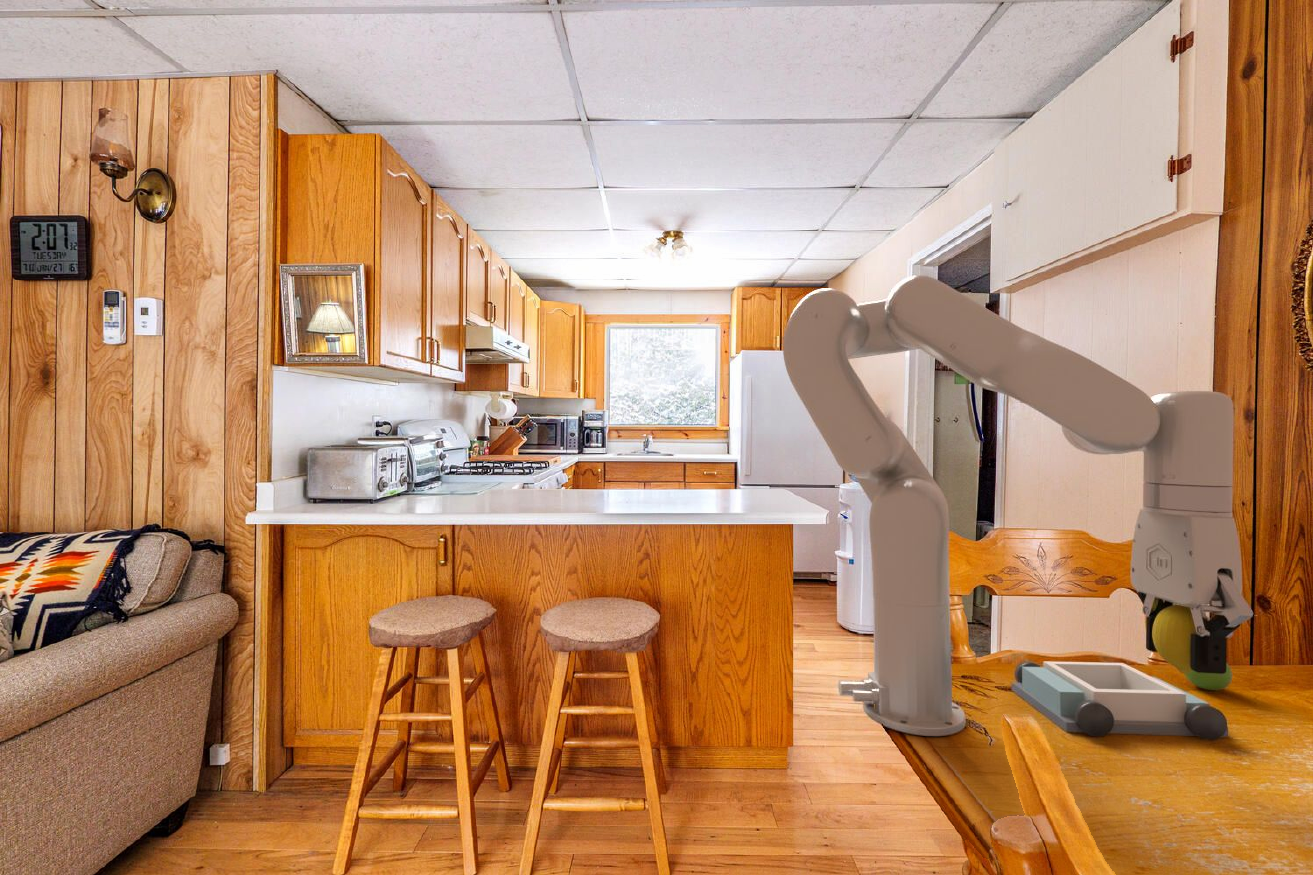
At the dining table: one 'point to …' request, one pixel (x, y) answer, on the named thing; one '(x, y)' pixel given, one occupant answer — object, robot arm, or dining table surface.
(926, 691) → the robot arm
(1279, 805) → the dining table surface
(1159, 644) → the lemon
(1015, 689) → the chassis
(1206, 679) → the snail figurine
